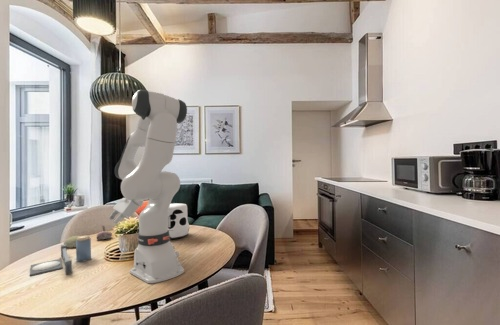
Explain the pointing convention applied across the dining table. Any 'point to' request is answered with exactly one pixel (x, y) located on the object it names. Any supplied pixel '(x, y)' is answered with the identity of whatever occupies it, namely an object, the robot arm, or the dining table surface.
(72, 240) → the sea urchin shell
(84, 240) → the ceramic jar
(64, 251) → the dark grey flat bar
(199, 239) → the dining table surface
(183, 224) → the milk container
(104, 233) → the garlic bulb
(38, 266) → the resting mat
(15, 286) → the dining table surface
